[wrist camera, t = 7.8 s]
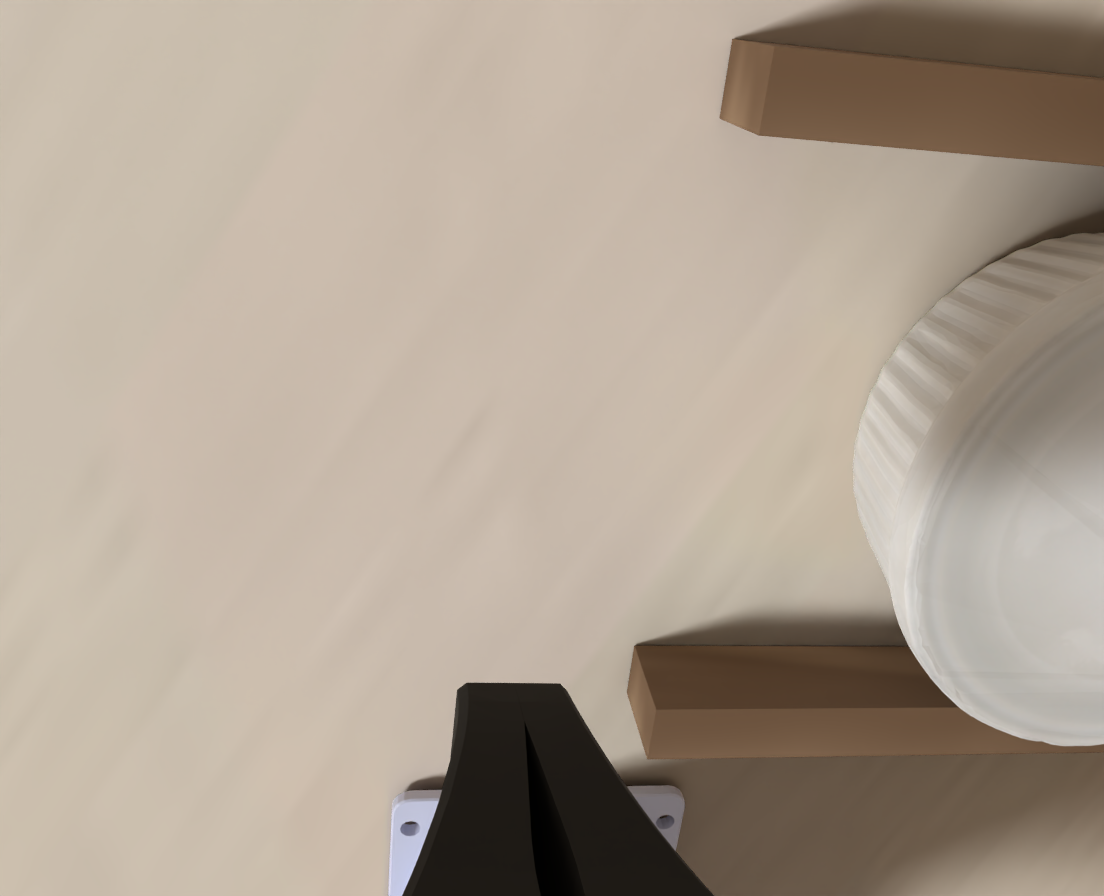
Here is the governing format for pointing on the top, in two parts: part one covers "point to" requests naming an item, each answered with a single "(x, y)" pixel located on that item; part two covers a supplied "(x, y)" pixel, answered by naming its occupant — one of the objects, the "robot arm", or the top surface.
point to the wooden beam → (856, 671)
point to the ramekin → (999, 491)
